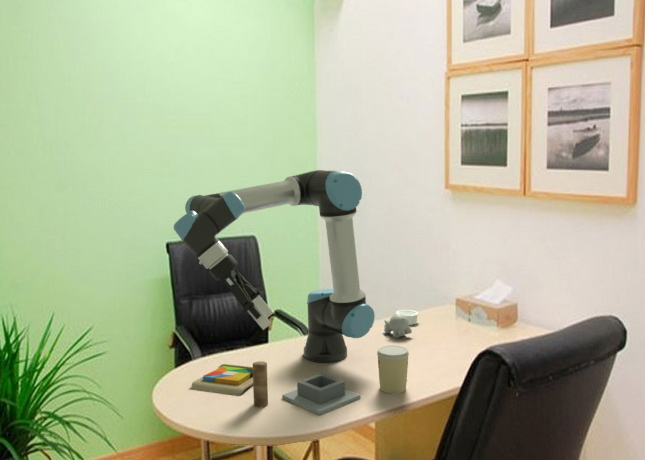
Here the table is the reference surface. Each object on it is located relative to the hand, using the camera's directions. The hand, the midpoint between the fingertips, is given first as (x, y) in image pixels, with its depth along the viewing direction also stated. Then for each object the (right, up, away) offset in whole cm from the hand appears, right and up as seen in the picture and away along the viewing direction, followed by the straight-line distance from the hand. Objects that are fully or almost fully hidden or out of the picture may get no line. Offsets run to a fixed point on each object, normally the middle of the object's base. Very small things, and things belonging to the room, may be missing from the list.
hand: (268, 320), depth 173 cm
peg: (-3, -25, +6) cm, 25 cm away
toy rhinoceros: (+43, -15, +67) cm, 81 cm away
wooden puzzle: (-14, -23, +24) cm, 36 cm away
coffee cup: (+36, -23, +16) cm, 45 cm away
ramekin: (+49, -13, +83) cm, 97 cm away
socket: (+14, -24, +10) cm, 29 cm away
